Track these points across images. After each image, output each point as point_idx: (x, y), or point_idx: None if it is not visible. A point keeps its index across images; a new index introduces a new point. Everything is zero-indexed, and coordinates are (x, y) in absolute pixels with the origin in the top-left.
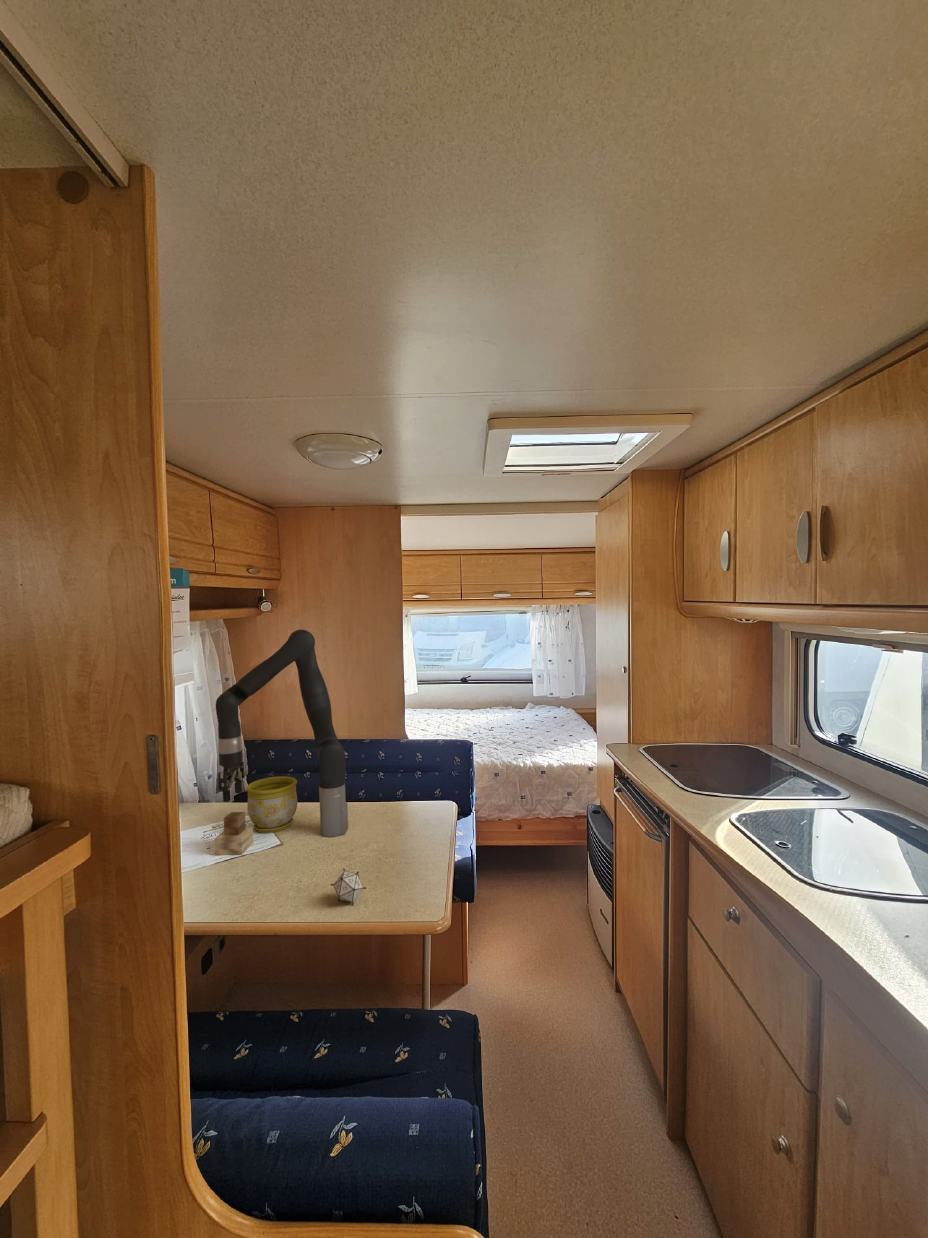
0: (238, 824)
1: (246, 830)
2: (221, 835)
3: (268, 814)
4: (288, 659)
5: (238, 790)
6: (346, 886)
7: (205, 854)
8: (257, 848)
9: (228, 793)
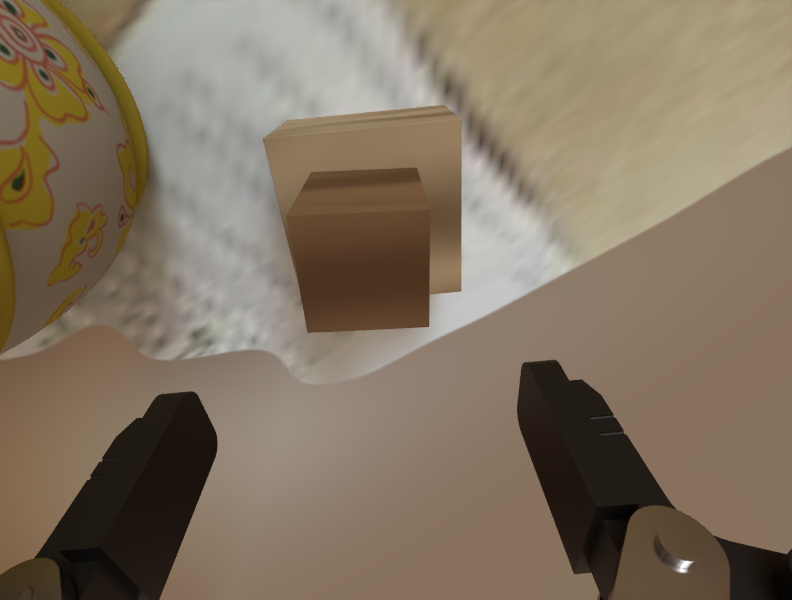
0: (415, 189)
1: (332, 152)
2: None
3: (64, 69)
4: None
5: (189, 441)
6: None
7: (430, 299)
8: (353, 46)
9: (610, 462)
